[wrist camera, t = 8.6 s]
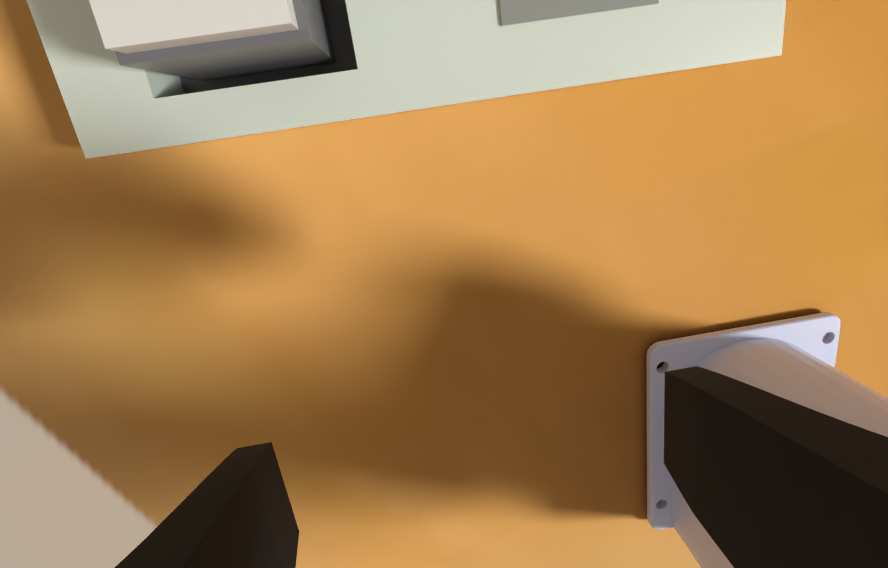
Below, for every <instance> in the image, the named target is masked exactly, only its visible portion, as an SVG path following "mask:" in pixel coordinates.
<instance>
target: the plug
mask: <svg viewBox="0 0 888 568" xmlns="http://www.w3.org/2000/svg"><path fill="white" fill-rule="evenodd" d="M89 2H90V5H91V8H92V11H93V14H94V17H95V20H96V23H97V26H98V29H99V32H100V35H101V38H102V41H103V43H104V46H105V49H108V50H113V51H115V52H116V55H117V58H118V61H119V64H120V65H121V66H126V67H132V68H137V69H143V70H148V71H154V72H159V73H165V74H170V75H176V76H181V77H187V78H192V79H198V80H203V81H212V80H219V79H226V78H233V77H240V76H247V75H254V74H261V73H268V72H275V71H282V70H289V69H296V68H303V67H310V66H317V65H324V64H331V63H336V61H335V55H334V50H333V45H332V40H331V35H330V30H329V25H328V20H327V15H326V9H325V4H324V0H89Z"/></svg>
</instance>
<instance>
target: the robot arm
mask: <svg viewBox="0 0 888 568" xmlns="http://www.w3.org/2000/svg"><path fill="white" fill-rule="evenodd" d="M840 326H841V322H840V319H839V317H837V316H835V315H833V314H831V313H829V312H823V313H818V314H812V315H806V316H801V317H795V318H789V319H784V320H778V321H772V322H767V323H761V324H755V325H749V326H744V327H738V328H732V329H727V330H721V331H715V332H710V333H704V334H698V335H693V336H687V337H681V338H676V339H670V340H664V341H659V342H656V343H654V344H652V345H651V346H650V347H649V349H648V350H647V519H648V522H649V523H650V525H651V526H652V527H653V528H654V529H666V528H671V527H674V528H675V530H676V531H677V532H678V534H679V535H680V537H681V538H682V540H683V541H684V543H685V544H686V546H687V547H688V549H689V550H690V551H691V553H692V554H693V556H694V557H695V559H696V560H697V562H698V563H699V565H700V566H701V568H888V398H886V397H885V396H883V395H881V394H879V393H878V392H876V391H874V390H872V389H871V388H869V387H867V386H865V385H864V384H862V383H860V382H858V381H857V380H855V379H853V378H851V377H850V376H848V375H846V374H844V373H843V372H841V371H839V370H837V369H836V368H835V361H836V354H837V347H838V340H839V333H840ZM825 334H826V336H825V337H824V338H823V336H824V335H825ZM822 338H823V339H822ZM661 362H664V364H663V366H662V367H661V368H658V369H656V368H657V365H658V364H659V363H661ZM660 500H661V501H660ZM658 501H660V502H658ZM657 502H658V503H657ZM298 537H299V530H298V527H297V523H296V520H295V517H294V514H293V511H292V507H291V504H290V501H289V498H288V494H287V491H286V488H285V485H284V481H283V478H282V475H281V472H280V469H279V465H278V462H277V459H276V456H275V452H274V449H273V446H272V443H271V442H270V443H265V444H259V445H253V446H248V447H242V448H237V449H236V450H235V451H234V452H232V453H231V454H230V455H229V456H228V457H227V458H226V459H225V460H224V461H223V462H222V463H221V464H220V465H219V466H218V467H217V468H216V469H215V470H214V471H213V472H212V473H211V474H210V475H209V476H208V477H207V478H206V479H205V480H204V481H203V482H202V483H201V484H200V485H199V486H198V487H197V488H196V489H195V490H194V491H193V492H192V493H191V494H190V495H189V496H188V497H187V498H186V499H185V500H184V501H183V502H182V503H181V504H180V505H179V506H178V507H177V508H176V509H175V510H174V511H173V512H172V513H171V514H170V515H169V516H168V517H167V518H166V519H165V520H164V521H163V522H162V523H161V524H160V525H159V526H158V527H157V528H156V529H155V530H154V531H153V532H152V533H151V534H150V535H149V536H148V537H147V538H146V539H145V540H144V541H143V542H142V543H141V544H140V545H138V546H137V547H136V548H135V549H134V550H133V551H132V552H131V553H130V554H129V555H128V556H127V557H126V558H125V559H124V560H123V561H121V562H120V563H119V564H118V565H117V566H116V567H115V568H295V566H296V556H297V546H298Z"/></svg>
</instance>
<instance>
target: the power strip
mask: <svg viewBox="0 0 888 568" xmlns="http://www.w3.org/2000/svg"><path fill="white" fill-rule="evenodd" d="M26 1H27V4H28V6H29V9H30V12H31V14H32V17H33V20H34V22H35V25H36V28H37V30H38V33H39V36H40V38H41V41H42V44H43V46H44V49H45V52H46V54H47V57H48V60H49V62H50V65H51V68H52V70H53V73H54V76H55V78H56V81H57V84H58V86H59V89H60V92H61V95H62V97H63V100H64V103H65V105H66V108H67V111H68V113H69V116H70V119H71V121H72V124H73V127H74V129H75V132H76V135H77V137H78V140H79V143H80V145H81V148H82V151H83V153H84V156H85V159H89V158H96V157H103V156H110V155H117V154H124V153H130V152H137V151H144V150H151V149H157V148H164V147H171V146H177V145H184V144H191V143H197V142H204V141H211V140H218V139H224V138H231V137H238V136H244V135H251V134H258V133H264V132H271V131H278V130H285V129H291V128H298V127H305V126H311V125H318V124H325V123H331V122H338V121H345V120H352V119H358V118H365V117H372V116H378V115H385V114H392V113H398V112H405V111H412V110H419V109H425V108H432V107H439V106H445V105H452V104H459V103H465V102H472V101H479V100H485V99H492V98H499V97H506V96H512V95H519V94H526V93H532V92H539V91H546V90H552V89H559V88H566V87H573V86H579V85H586V84H593V83H599V82H606V81H613V80H619V79H626V78H633V77H640V76H646V75H653V74H660V73H666V72H673V71H680V70H686V69H693V68H700V67H707V66H713V65H720V64H727V63H733V62H740V61H746V60H753V59H759V58H766V57H772V56H779V55H782V44H783V31H784V19H785V7H786V0H324V4H325V9H326V15H327V20H328V25H329V30H330V35H331V40H332V45H333V50H334V55H335V61H336V63H331V64H324V65H317V66H310V67H303V68H296V69H289V70H282V71H275V72H268V73H261V74H254V75H247V76H240V77H233V78H226V79H219V80H212V81H203V80H198V79H192V78H187V77H181V76H176V75H170V74H165V73H159V72H154V71H148V70H143V69H137V68H132V67H126V66H121V65H120V64H119V61H118V58H117V55H116V52H115V51H113V50H108V49H105V46H104V43H103V41H102V38H101V35H100V32H99V29H98V26H97V23H96V20H95V17H94V14H93V11H92V8H91V5H90V2H89V0H26Z"/></svg>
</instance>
